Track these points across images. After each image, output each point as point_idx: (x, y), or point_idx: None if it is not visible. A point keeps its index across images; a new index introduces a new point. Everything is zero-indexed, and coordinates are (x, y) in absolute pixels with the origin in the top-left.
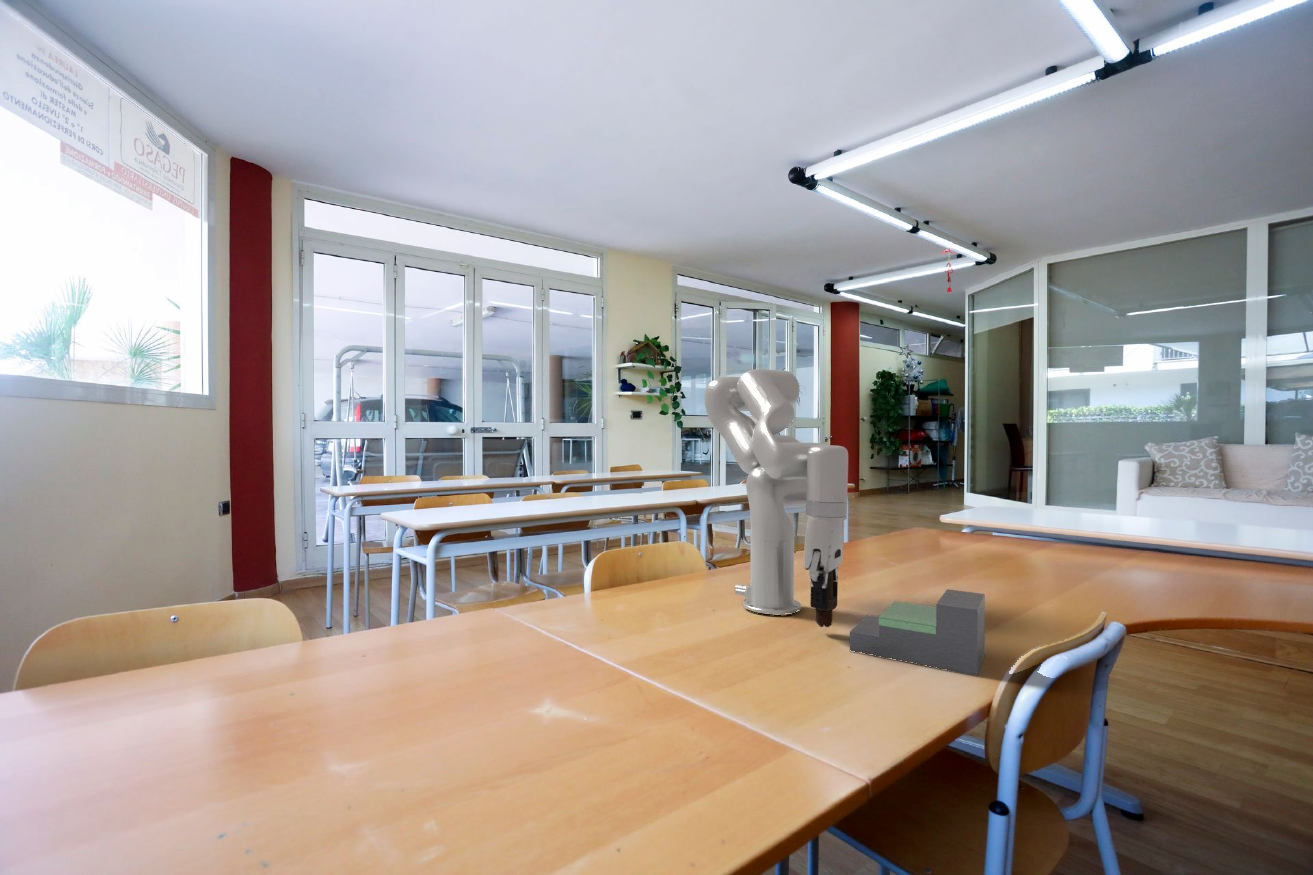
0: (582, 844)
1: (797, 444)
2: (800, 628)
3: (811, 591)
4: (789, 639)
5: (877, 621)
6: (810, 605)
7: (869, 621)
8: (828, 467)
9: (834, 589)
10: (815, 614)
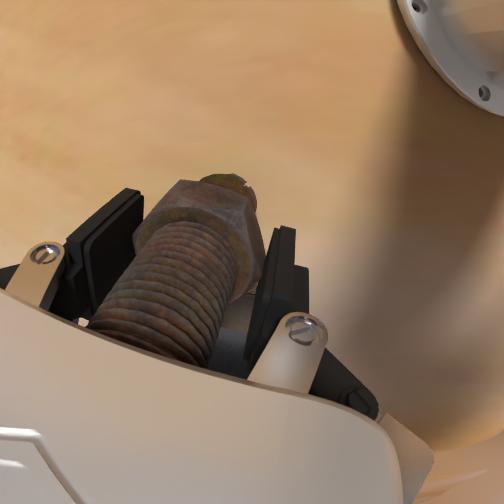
0: None
1: None
2: (274, 102)
3: (86, 225)
4: (133, 91)
5: (232, 358)
6: (125, 188)
7: (222, 343)
8: None
9: (249, 327)
10: (209, 183)
